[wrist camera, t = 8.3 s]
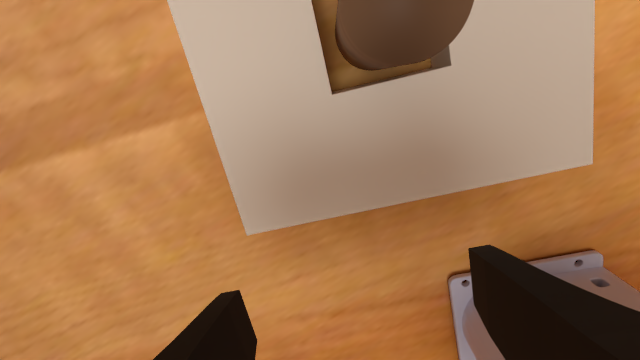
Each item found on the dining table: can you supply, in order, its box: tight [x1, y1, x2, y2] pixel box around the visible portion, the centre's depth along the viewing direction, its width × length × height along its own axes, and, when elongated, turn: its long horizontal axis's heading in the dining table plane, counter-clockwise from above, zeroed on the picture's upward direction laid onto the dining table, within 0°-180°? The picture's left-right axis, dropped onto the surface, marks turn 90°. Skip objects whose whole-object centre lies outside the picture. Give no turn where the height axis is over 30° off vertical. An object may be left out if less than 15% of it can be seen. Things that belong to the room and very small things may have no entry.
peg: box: [335, 0, 474, 70], centre depth 13 cm, size 4×4×8 cm
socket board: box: [167, 0, 595, 235], centre depth 16 cm, size 18×18×3 cm
